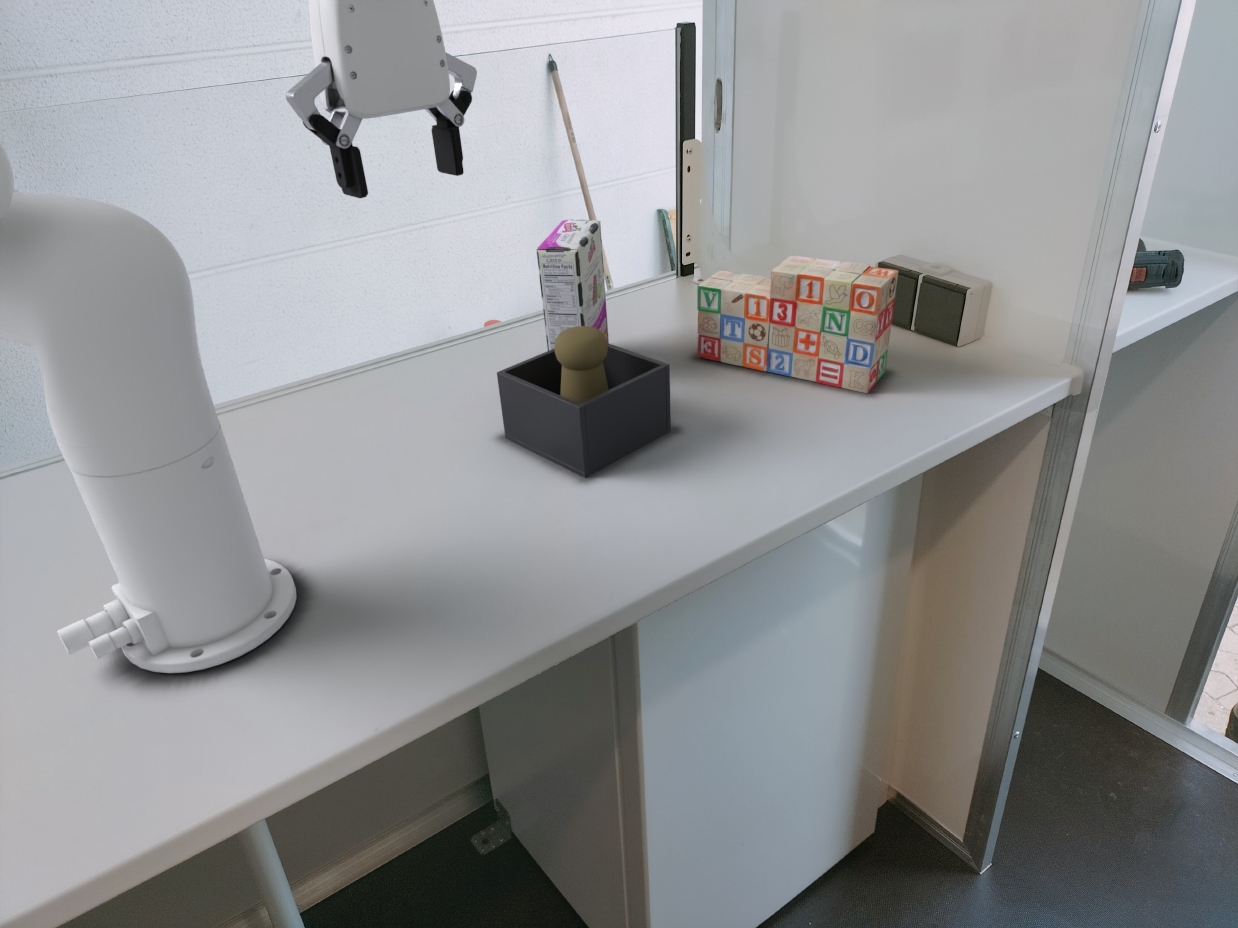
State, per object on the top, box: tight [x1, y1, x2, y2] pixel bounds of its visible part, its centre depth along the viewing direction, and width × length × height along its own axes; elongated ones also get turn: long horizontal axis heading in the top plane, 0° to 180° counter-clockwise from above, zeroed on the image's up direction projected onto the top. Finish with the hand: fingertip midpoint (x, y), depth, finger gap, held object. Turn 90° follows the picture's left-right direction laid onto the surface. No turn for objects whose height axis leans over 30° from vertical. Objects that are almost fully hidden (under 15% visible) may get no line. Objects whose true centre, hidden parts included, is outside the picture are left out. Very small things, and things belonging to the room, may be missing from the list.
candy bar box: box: [535, 219, 610, 351], centre depth 99 cm, size 11×5×16 cm, turn 168°
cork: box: [555, 326, 609, 404], centre depth 85 cm, size 6×6×11 cm
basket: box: [496, 343, 672, 479], centre depth 86 cm, size 12×12×8 cm
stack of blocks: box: [696, 255, 899, 394], centre depth 97 cm, size 21×6×12 cm, turn 58°
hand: (405, 184), depth 74 cm, fingers open, 9 cm apart
